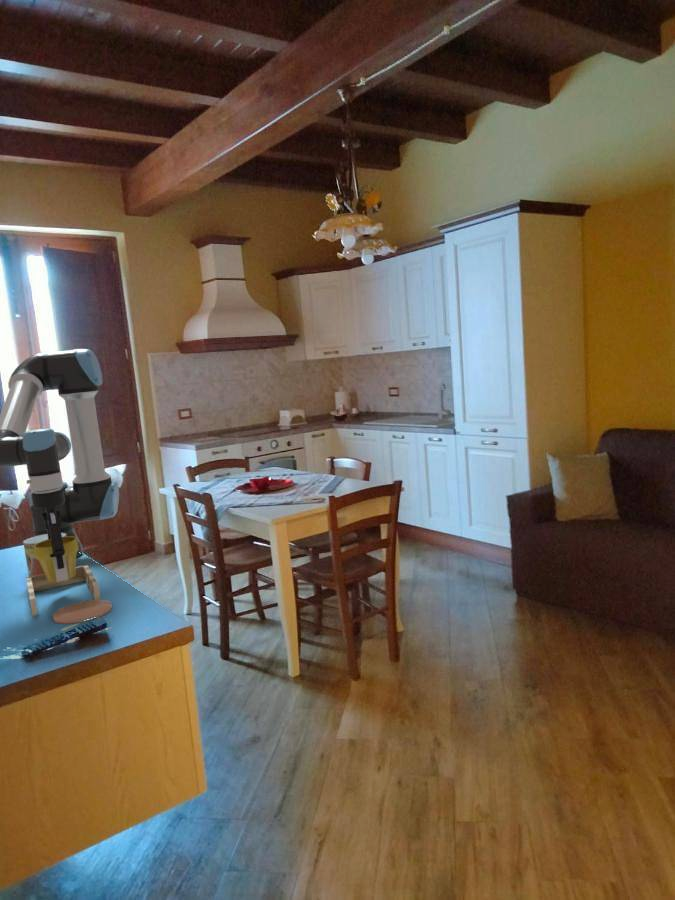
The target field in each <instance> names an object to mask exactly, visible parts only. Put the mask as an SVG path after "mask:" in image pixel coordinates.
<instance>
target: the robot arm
mask: <svg viewBox="0 0 675 900" xmlns="http://www.w3.org/2000/svg"><path fill="white" fill-rule="evenodd" d="M103 381H104V380H103V372H102V370H101V366H100V361H99V360H98V357H97V356H96V354H95V353H94V351H93V350H91V349H88V348H74V349H65V350H56V351H55V350H54V351H48V352H47V351H41V352H38V353H35V354H33V355H31V356H29V357H28V358H26V359H24V360H23V361H22V362H21V363H20V364H19V365H18V366H17V367H16V368H15V369H13V372H12V373H11V375H10V377H9V379H8V389H9V390H8V393H7V396H6V399H5V401H4V404H3V406H2V408H1V412H0V468H8V467H9V468H10V467H17V466H18V467H19V466H25V465H26V469H27V474H28V479H27V480H26V484H28V485H29V487H30V492H29V494H28V501H29V506H28V507H29V509H30V515H31V521H32V526H33V527H32V528H33V529H32V530H33V534H34V536H38V535H43V534H48V539H51V545H52V550H53V554H50V557H53V561H54V567H55V573H56V580H57V582H59V581H64V580H68V572H67V566H66V560H65V550H64V546H63V541H62V535H61V533H66V536H74V537H76V538H77V541H78V548H79V550H78V551H77V552H76V558H77V557H79V556H81V555H82V554H83V553H84V550H83V549H84V548H83V545H82V543H81V540H80V539H79V536H78V535H77V533H76V531H75V529H74V523H75V524H76V523H81V522H89V521H102V520H106V519H111V518H114V517H115V516H116V515H117V512H118V508H119V502H120V500H119V499H120V490H119V485H118V482H117V481H115V480H112V476H111V475H110V473H108V472H106V469H105V463H104V456H103V448H102V442H101V435H100V428H99V422H98V415H97V407H96V401H95V397H96V395H97V394H98V393H99V386H102V384H103ZM51 390H52V391H53V390H57V391H58V396H59V397H60V398H62V399H63V400H64V403H65V409H66V410H65V411H66V414H67V415H66V416H67V421H68V428H69V434H70V438H69V437H68V436H67V435H66V433H62V432H59V431H54V429H53V428H37V429H30V430H27V429H28V426H29V423H30V420H31V417H32V414H33V410H34V408H35V405H36V402H37V399H38V398H39V397H41V396H42V395H43V392H45V391H51ZM71 450H72V454H73V460H74V467H75V474H76V475H75V477H74V478H73V480H72V486H69V484H68V483H67V481H66V482H65V481H63V477H62V476H63V475H62V472H61V471H62V470H61V466H60V461H62V460H64V459H65V458H67V456H68V455H69V454H70V452H71ZM58 549H61V550H58ZM79 552H80V553H82V554H80V553H79Z"/></svg>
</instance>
